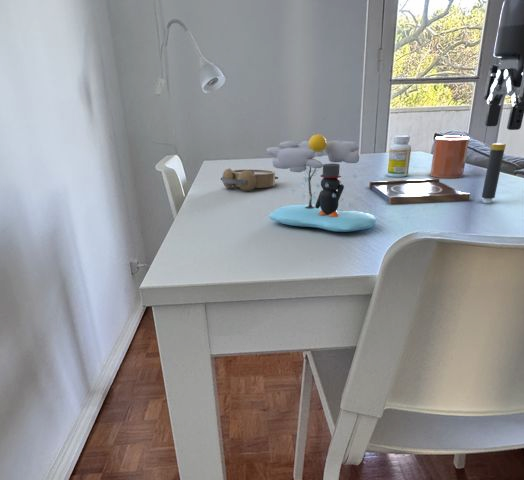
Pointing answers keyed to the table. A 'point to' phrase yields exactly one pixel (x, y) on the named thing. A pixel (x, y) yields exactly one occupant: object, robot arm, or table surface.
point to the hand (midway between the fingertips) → (501, 127)
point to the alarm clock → (248, 179)
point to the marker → (493, 171)
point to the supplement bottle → (399, 156)
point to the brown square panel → (417, 191)
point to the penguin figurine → (328, 199)
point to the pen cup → (449, 156)
